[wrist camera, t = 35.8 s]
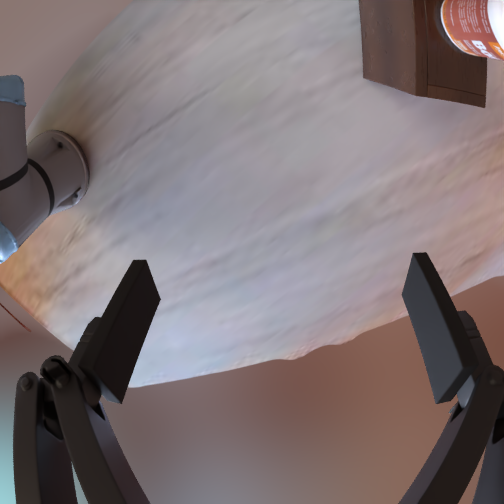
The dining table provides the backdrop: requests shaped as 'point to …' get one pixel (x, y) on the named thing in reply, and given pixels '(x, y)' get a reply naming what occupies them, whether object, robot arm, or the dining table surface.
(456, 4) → the pill bottle
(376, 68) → the brown wooden box
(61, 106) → the dining table surface
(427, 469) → the robot arm
